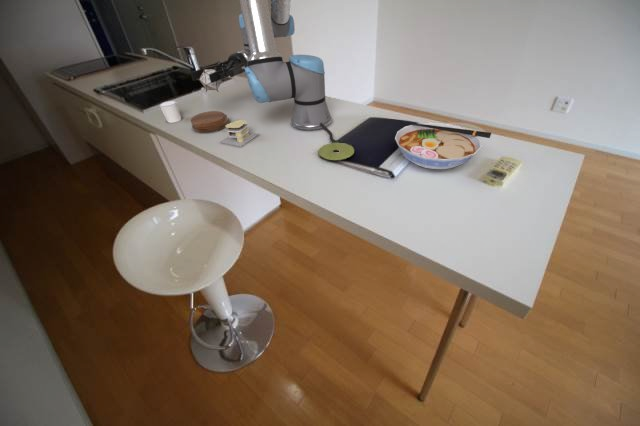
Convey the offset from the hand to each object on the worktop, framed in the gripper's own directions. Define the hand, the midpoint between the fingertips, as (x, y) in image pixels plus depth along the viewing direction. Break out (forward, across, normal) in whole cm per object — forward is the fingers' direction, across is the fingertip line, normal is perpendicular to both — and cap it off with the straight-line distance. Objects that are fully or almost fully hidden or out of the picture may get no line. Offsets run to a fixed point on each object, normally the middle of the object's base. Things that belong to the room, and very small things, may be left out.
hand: (201, 77), depth 104 cm
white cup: (+2, +22, -18) cm, 28 cm away
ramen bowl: (-1, -83, -18) cm, 85 cm away
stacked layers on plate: (+6, -17, -18) cm, 26 cm away
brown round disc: (+1, +2, -18) cm, 18 cm away
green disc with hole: (+6, -55, -18) cm, 59 cm away
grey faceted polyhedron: (-5, +1, -6) cm, 8 cm away
